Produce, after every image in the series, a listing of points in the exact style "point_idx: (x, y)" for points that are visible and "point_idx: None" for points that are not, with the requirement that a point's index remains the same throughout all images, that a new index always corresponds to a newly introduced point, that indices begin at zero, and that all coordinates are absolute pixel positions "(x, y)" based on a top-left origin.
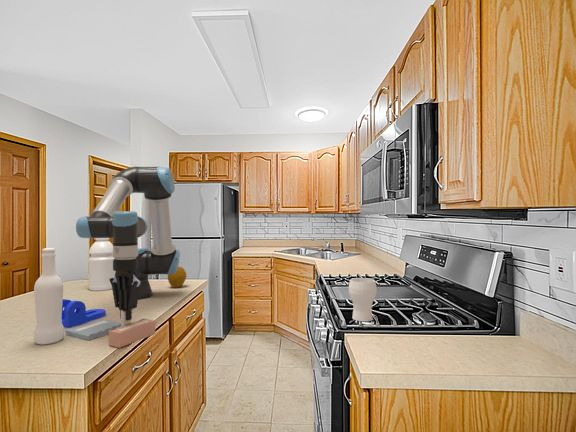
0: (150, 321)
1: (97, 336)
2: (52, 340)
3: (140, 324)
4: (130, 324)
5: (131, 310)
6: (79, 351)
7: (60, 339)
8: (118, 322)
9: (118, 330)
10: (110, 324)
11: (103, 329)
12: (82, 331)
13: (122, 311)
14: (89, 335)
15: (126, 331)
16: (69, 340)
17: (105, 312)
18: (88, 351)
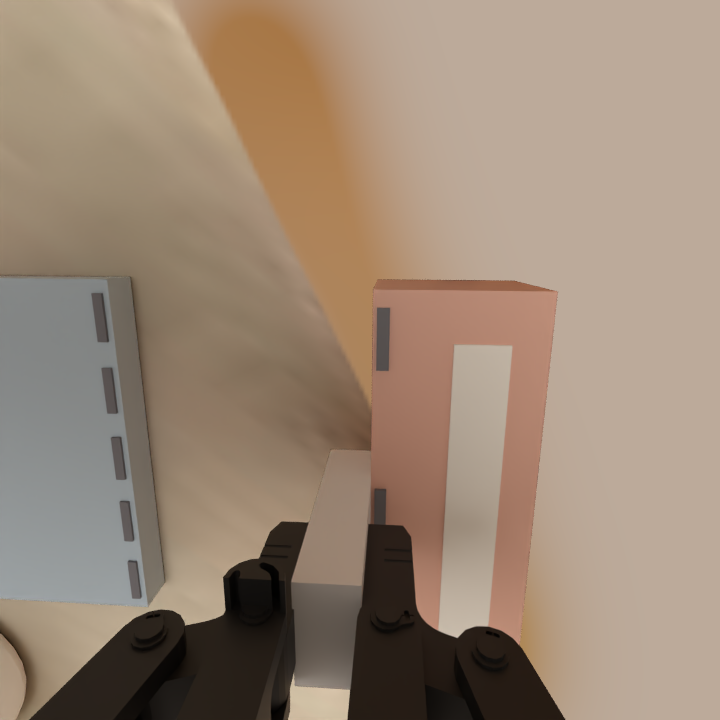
0: (528, 344)
1: (153, 527)
2: (17, 710)
3: (500, 465)
4: (400, 505)
5: (418, 615)
6: (293, 707)
7: (13, 657)
8: (13, 280)
9: None
10: (10, 354)
11: (94, 469)
12: (8, 561)
13: (331, 680)
14: (141, 597)
15: (519, 637)
16: (54, 620)
17: None
18: (342, 690)
